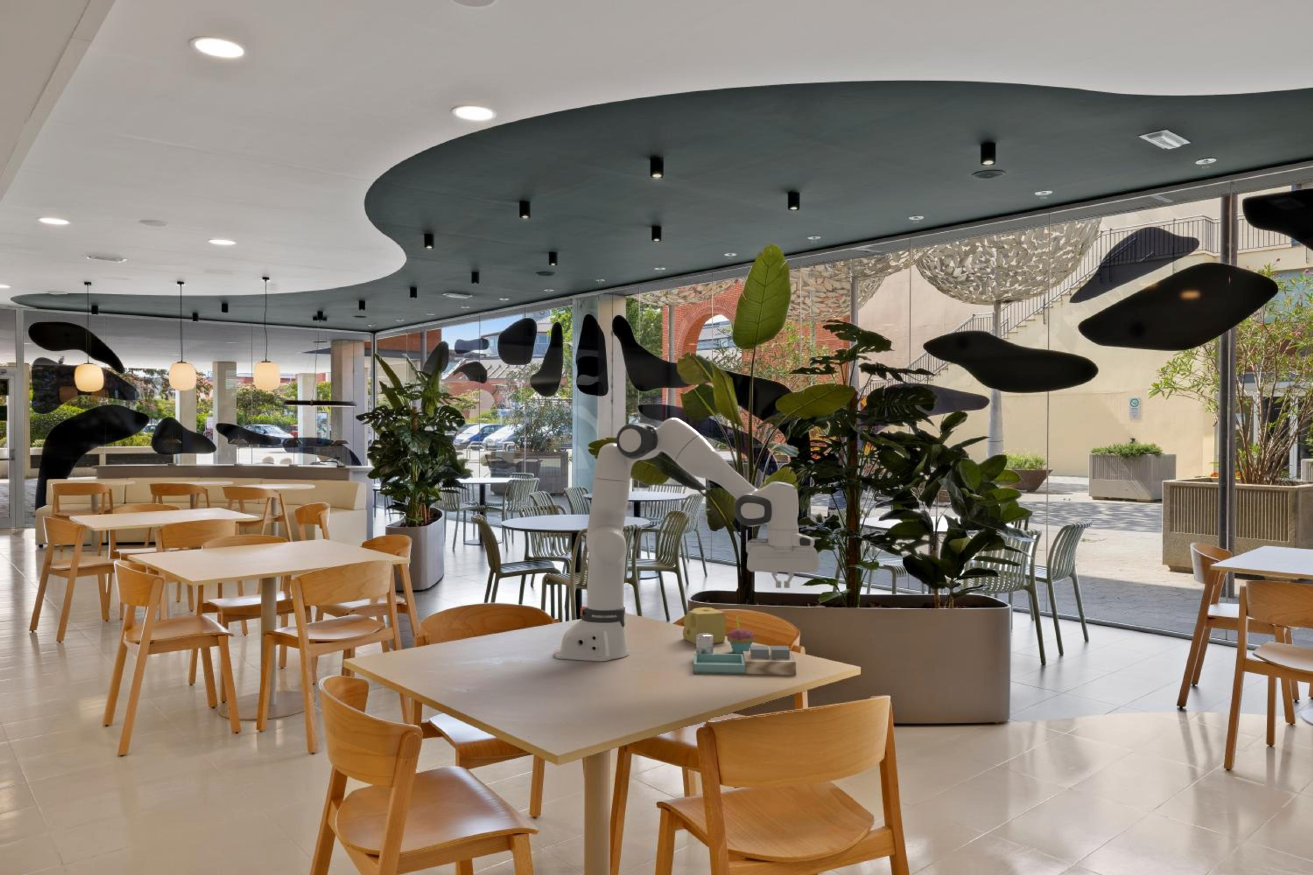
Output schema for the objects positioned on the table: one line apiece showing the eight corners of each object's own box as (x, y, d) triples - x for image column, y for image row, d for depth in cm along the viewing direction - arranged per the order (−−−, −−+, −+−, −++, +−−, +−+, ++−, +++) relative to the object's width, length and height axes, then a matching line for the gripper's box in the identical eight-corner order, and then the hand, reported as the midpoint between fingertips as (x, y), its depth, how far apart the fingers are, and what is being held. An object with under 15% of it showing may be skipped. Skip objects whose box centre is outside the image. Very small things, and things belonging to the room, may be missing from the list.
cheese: (682, 639, 296) (682, 608, 296) (711, 636, 300) (711, 606, 300) (697, 645, 286) (697, 614, 286) (727, 642, 291) (727, 611, 291)
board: (745, 673, 252) (745, 661, 252) (743, 663, 264) (743, 651, 264) (795, 674, 251) (795, 661, 251) (791, 663, 263) (791, 651, 263)
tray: (694, 672, 252) (694, 663, 252) (694, 662, 265) (694, 653, 265) (745, 673, 251) (745, 664, 251) (743, 662, 264) (743, 654, 264)
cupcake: (745, 656, 272) (745, 616, 272) (721, 652, 277) (721, 613, 277) (759, 651, 278) (759, 612, 279) (736, 647, 284) (736, 609, 284)
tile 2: (771, 658, 255) (771, 649, 255) (770, 654, 260) (770, 645, 260) (789, 658, 255) (789, 649, 255) (787, 654, 260) (788, 645, 260)
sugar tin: (696, 660, 267) (696, 636, 267) (696, 656, 272) (696, 633, 272) (713, 660, 267) (713, 636, 267) (713, 656, 272) (713, 633, 272)
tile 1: (751, 658, 255) (751, 649, 255) (750, 653, 260) (750, 645, 260) (768, 658, 255) (768, 649, 255) (767, 654, 260) (767, 645, 260)
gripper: (746, 539, 255) (746, 588, 255) (820, 540, 254) (819, 589, 254) (745, 537, 261) (745, 585, 261) (817, 538, 260) (816, 586, 260)
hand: (782, 587), depth 257 cm, fingers closed
